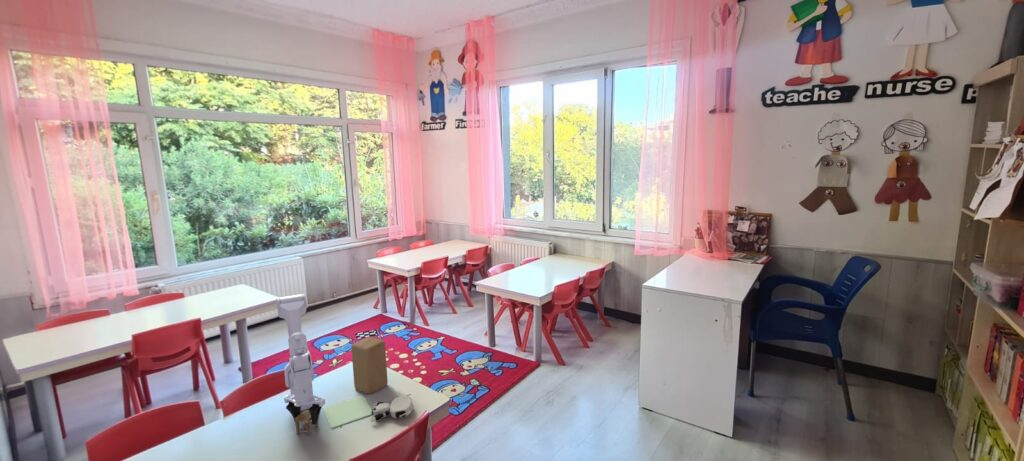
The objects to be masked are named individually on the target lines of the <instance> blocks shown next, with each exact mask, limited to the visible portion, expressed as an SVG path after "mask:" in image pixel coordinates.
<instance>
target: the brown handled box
mask: <svg viewBox="0 0 1024 461" xmlns="http://www.w3.org/2000/svg"><path fill="white" fill-rule="evenodd" d="M294 423H295V433H296V435H299V434H301V432H306V435H307V436H308V437H309V436H311V434H312V433H311V432H312V431H311V425H313V424H312V418H311V415H310V412H309V411H308V409H305V410H302V411H301V414H299V415H298V416H297V417H296V418H295V421H294ZM300 423H303V427H304V428H300ZM314 428H315V429H318V428H319V421H318V422H317V423H316V424H315V425H314Z"/></svg>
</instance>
